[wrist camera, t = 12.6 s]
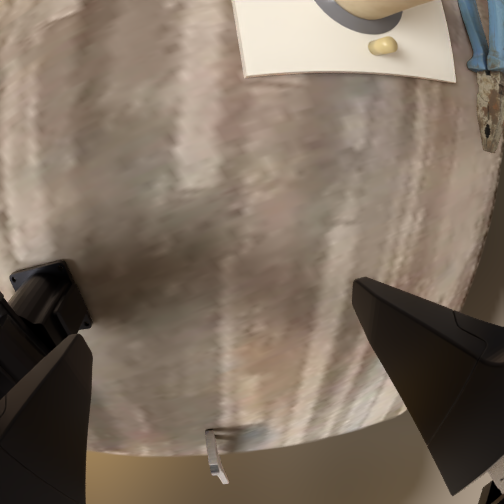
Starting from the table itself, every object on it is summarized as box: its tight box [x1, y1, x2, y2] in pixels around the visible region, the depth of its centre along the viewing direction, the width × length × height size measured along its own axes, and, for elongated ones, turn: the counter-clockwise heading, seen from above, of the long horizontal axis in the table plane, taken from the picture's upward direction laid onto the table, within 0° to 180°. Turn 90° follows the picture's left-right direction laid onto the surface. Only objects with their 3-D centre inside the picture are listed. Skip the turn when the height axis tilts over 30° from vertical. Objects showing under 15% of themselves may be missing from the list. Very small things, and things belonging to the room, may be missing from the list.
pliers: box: [458, 0, 504, 153], centre depth 15 cm, size 20×2×6 cm, turn 178°
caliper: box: [205, 430, 229, 484], centre depth 34 cm, size 20×1×6 cm, turn 2°
